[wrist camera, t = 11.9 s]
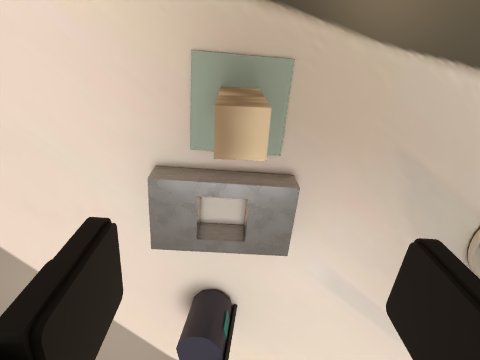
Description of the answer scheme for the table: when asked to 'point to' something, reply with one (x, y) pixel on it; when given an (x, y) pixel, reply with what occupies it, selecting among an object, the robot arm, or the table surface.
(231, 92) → the peg
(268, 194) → the plate with square hole
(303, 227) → the table surface
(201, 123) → the pad
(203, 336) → the speaker
